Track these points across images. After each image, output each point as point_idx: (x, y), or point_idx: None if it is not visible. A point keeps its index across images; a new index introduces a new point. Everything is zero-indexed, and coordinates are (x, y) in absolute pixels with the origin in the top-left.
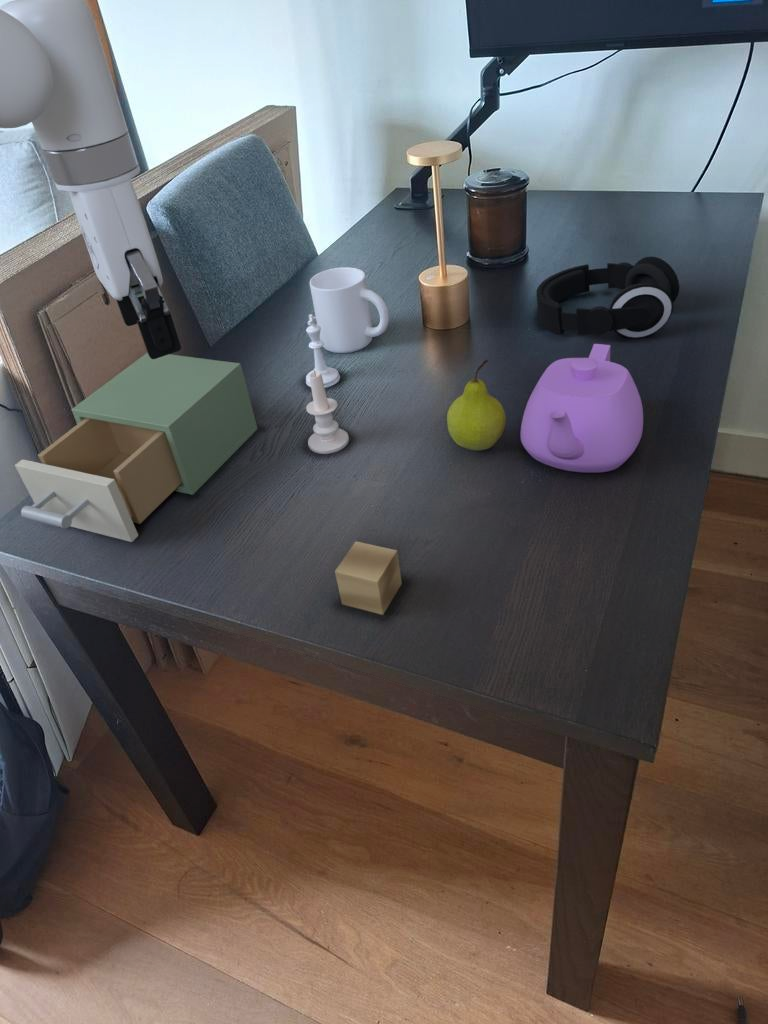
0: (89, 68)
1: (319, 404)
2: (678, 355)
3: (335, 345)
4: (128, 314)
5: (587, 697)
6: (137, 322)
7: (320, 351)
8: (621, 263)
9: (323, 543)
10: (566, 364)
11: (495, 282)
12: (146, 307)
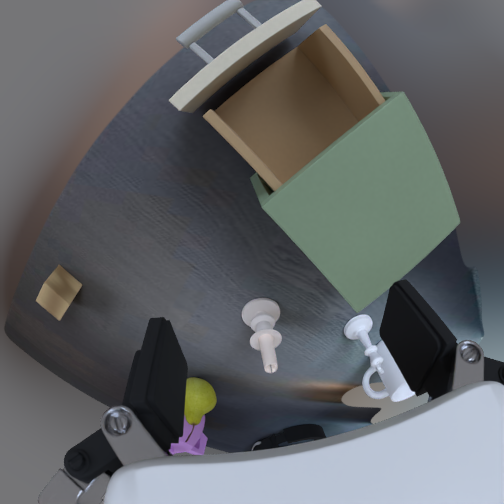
0: None
1: (260, 343)
2: (230, 444)
3: (384, 345)
4: (402, 309)
5: (13, 329)
6: (135, 399)
7: (365, 347)
8: None
9: (119, 272)
10: (185, 446)
11: (367, 413)
12: (65, 458)
